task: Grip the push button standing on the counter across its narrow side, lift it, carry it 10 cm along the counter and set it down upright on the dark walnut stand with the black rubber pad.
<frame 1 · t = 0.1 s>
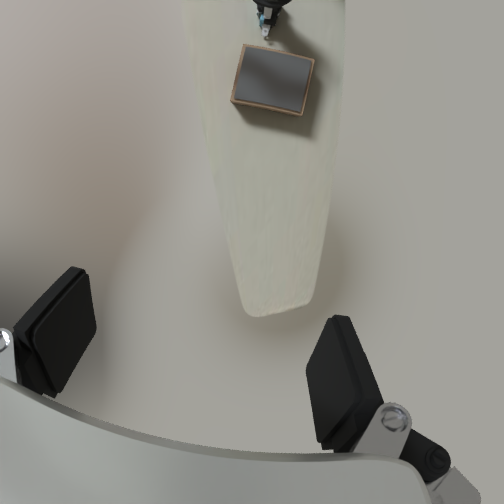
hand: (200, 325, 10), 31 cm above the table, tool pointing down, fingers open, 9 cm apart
stand: (271, 82, 33), on the table
push button: (267, 18, 28), on the table
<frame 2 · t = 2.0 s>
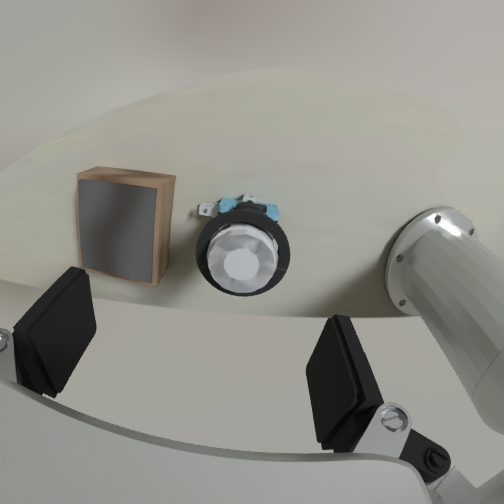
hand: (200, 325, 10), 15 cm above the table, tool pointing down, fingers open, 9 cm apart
stand: (131, 217, 24), on the table
push button: (241, 208, 24), on the table
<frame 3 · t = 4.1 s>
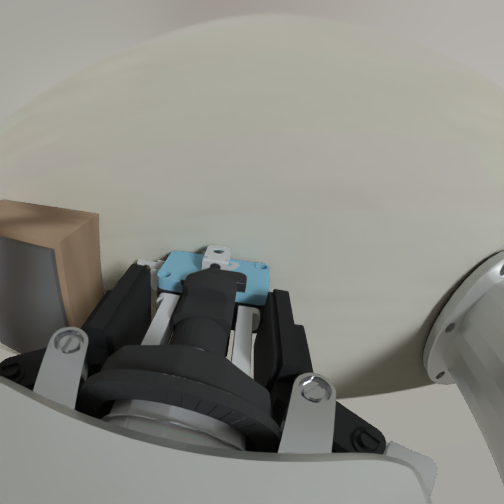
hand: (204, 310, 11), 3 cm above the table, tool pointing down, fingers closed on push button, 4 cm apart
stand: (51, 274, 14), on the table
push button: (205, 268, 14), on the table, touching gripper
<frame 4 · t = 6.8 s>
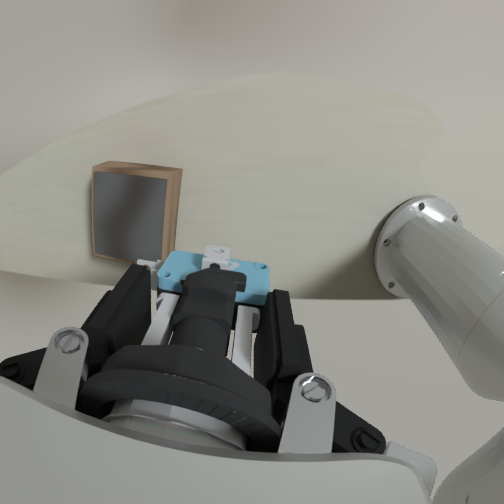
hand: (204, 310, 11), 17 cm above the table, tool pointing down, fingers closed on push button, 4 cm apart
stand: (140, 207, 27), on the table
push button: (205, 268, 14), point 14 cm above the table, touching gripper
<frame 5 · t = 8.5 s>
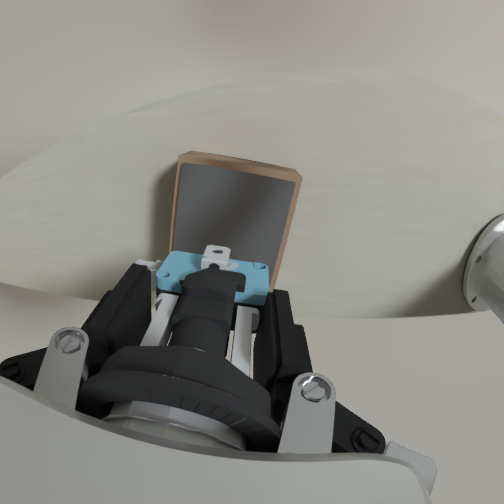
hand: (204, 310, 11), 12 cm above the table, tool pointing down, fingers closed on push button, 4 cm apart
stand: (232, 214, 22), on the table
push button: (204, 268, 14), point 9 cm above the table, touching gripper
when the fingers open (9 cm above the table, at t = 9.9 s): push button drops 2 cm, resting on stand.
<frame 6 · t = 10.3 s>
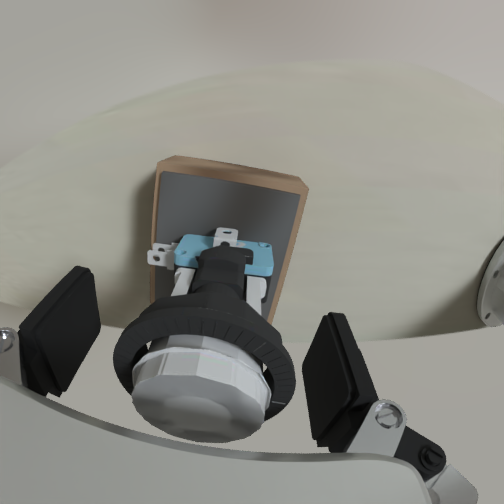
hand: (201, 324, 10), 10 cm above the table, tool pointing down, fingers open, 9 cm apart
stand: (224, 230, 19), on the table
push button: (214, 249, 16), point 4 cm above the table, touching stand
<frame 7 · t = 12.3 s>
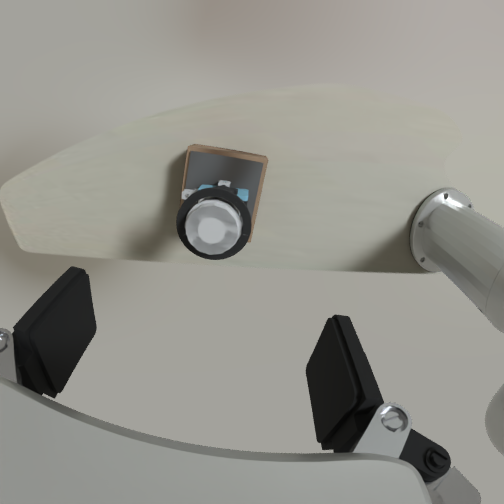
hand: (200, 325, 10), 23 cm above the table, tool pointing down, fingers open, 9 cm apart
stand: (223, 188, 31), on the table
push button: (217, 193, 28), point 4 cm above the table, touching stand
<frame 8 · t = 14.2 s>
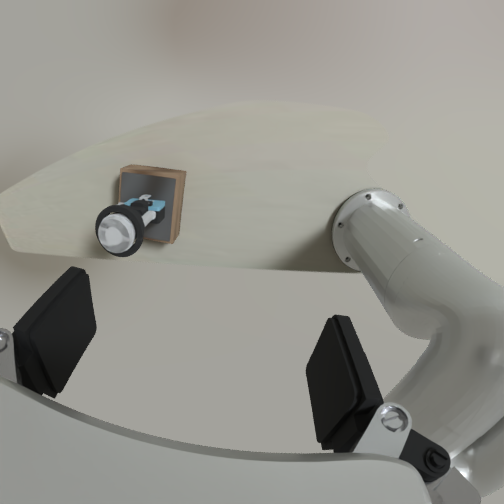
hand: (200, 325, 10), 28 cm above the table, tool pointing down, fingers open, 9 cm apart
stand: (154, 199, 37), on the table
push button: (144, 205, 33), point 4 cm above the table, touching stand
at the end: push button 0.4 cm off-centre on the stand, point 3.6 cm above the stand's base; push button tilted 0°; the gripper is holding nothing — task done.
